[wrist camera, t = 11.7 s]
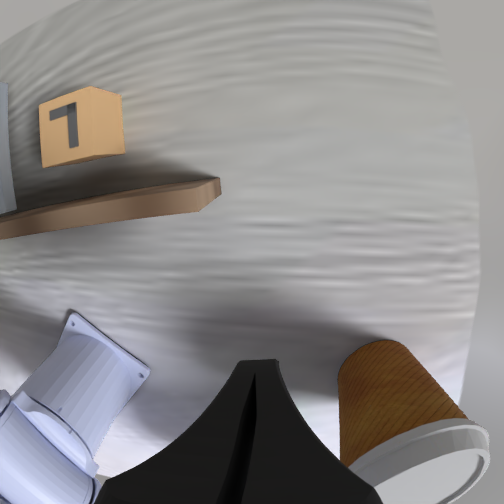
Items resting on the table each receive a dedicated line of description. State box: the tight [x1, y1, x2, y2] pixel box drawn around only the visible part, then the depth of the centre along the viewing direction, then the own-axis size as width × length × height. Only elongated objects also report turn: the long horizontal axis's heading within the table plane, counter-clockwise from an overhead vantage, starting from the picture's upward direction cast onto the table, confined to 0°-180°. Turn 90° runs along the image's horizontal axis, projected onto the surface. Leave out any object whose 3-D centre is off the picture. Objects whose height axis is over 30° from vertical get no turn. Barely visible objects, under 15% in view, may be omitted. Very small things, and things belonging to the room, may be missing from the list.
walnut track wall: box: [0, 178, 221, 240], centre depth 17 cm, size 20×1×6 cm, turn 96°
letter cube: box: [39, 86, 125, 168], centre depth 16 cm, size 4×4×4 cm
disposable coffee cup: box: [338, 340, 490, 504], centre depth 17 cm, size 10×10×12 cm
